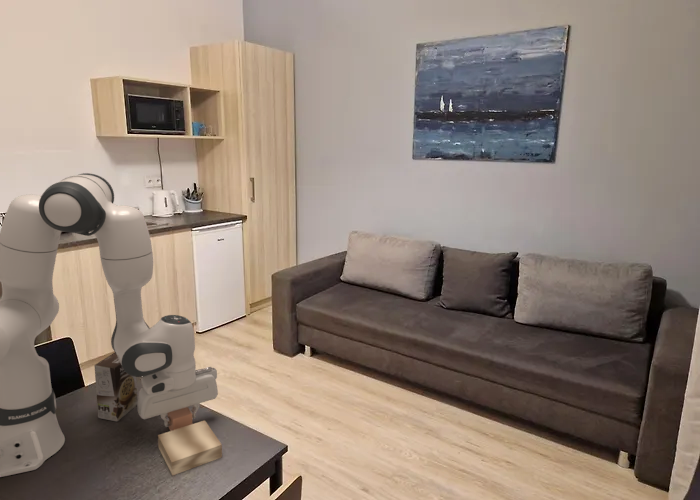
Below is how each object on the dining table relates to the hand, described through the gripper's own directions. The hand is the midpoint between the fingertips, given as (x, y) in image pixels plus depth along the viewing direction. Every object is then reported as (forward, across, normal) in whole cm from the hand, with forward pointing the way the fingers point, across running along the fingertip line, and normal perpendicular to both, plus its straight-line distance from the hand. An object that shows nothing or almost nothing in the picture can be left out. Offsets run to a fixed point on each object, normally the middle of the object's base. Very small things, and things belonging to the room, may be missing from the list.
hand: (180, 421), depth 127 cm
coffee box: (+2, +12, -17) cm, 21 cm away
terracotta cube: (+2, 0, 0) cm, 2 cm away
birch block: (+2, +1, +11) cm, 11 cm away
